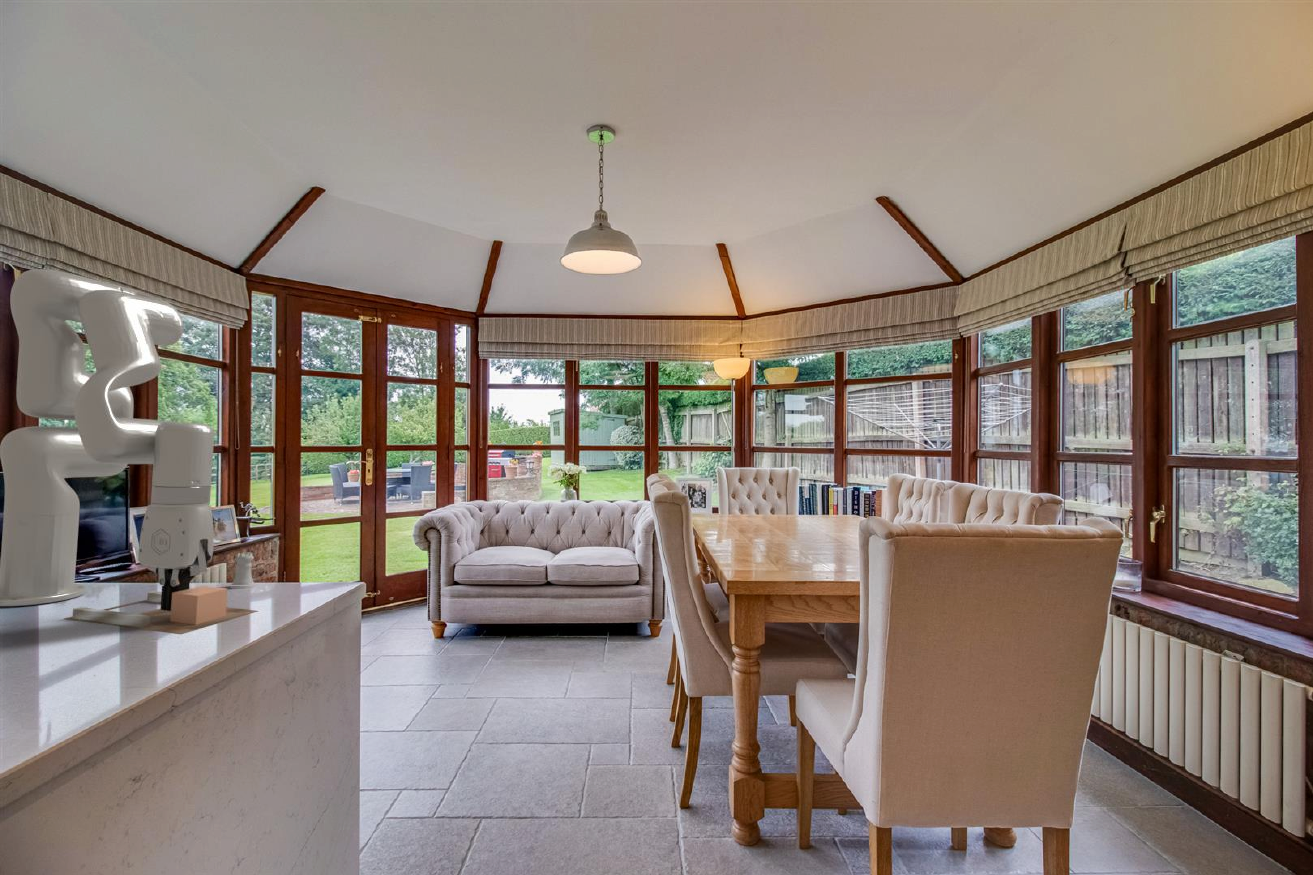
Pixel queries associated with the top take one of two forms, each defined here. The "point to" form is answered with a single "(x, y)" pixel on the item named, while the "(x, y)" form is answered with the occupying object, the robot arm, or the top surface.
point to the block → (198, 604)
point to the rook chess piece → (243, 571)
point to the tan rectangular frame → (149, 617)
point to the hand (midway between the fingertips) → (174, 608)
